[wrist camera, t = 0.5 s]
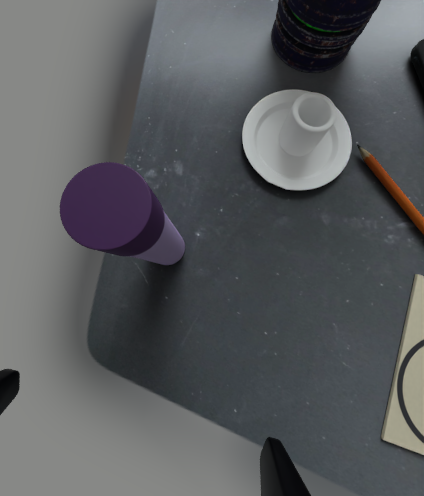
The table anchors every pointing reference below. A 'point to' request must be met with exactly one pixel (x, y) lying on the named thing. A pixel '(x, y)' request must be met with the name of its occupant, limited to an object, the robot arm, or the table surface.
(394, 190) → the pencil
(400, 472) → the table surface
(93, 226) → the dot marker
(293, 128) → the candle holder
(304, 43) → the dark blue cylinder
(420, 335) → the circle card
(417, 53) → the game console
